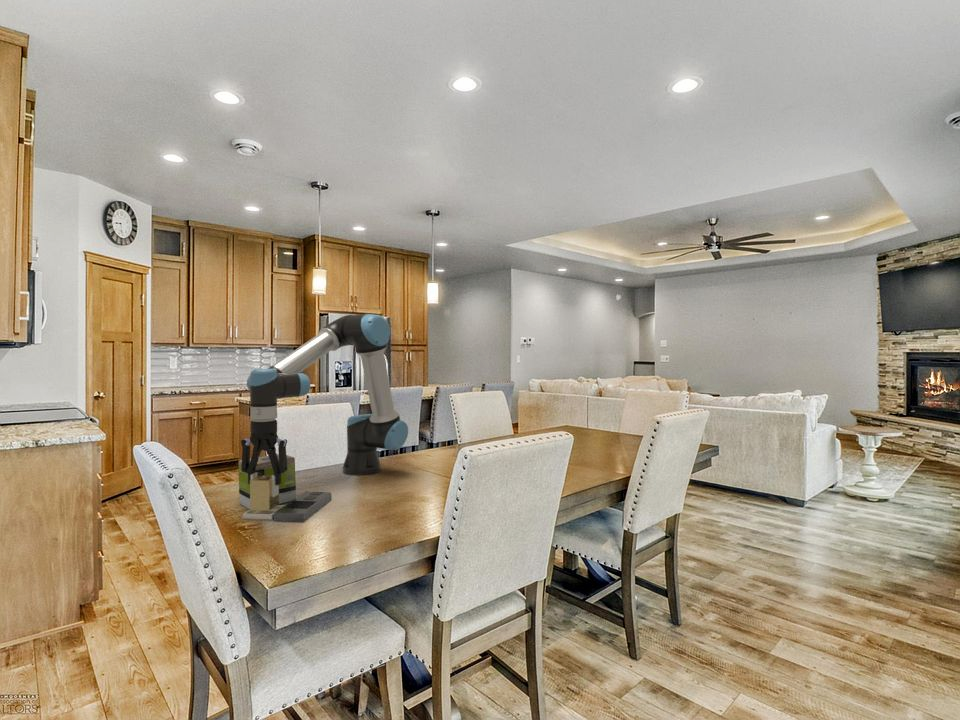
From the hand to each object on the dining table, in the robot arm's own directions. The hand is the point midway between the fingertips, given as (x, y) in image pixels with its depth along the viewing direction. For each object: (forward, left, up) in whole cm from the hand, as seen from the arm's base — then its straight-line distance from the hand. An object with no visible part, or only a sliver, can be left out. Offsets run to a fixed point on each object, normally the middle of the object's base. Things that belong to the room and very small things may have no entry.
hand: (264, 494), depth 159 cm
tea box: (-12, -5, -6) cm, 14 cm away
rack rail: (-6, +10, -6) cm, 13 cm away
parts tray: (0, 0, -6) cm, 6 cm away
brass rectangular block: (0, 0, -4) cm, 4 cm away
